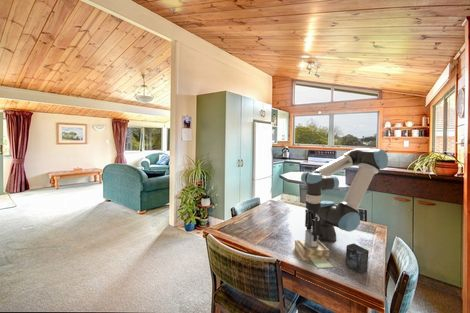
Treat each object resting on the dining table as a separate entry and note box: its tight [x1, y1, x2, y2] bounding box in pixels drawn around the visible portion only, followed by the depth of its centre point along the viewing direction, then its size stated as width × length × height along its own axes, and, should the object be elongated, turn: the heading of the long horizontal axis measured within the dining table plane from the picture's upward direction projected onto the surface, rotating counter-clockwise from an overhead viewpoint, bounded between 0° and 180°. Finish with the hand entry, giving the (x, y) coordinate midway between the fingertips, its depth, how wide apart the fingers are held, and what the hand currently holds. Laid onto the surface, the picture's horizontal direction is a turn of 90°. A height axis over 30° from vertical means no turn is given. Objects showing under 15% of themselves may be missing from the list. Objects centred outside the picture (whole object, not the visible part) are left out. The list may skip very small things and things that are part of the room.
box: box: [345, 242, 369, 274], centre depth 106 cm, size 8×6×11 cm
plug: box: [304, 229, 318, 248], centre depth 119 cm, size 5×5×13 cm
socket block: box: [294, 239, 330, 261], centre depth 119 cm, size 14×12×5 cm
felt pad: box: [310, 259, 334, 269], centre depth 110 cm, size 8×8×1 cm
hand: (311, 243), depth 119 cm, fingers closed on plug, 5 cm apart
